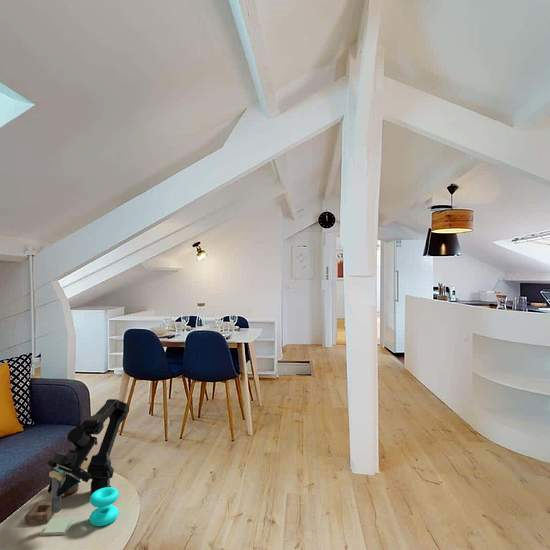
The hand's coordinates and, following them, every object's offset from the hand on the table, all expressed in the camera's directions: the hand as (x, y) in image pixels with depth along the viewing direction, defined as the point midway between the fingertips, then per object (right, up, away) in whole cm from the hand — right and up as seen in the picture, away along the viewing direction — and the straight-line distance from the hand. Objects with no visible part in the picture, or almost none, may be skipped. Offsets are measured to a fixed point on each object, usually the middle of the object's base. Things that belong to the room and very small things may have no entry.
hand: (52, 494), depth 139 cm
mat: (+1, -13, +1) cm, 13 cm away
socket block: (-8, -12, +7) cm, 17 cm away
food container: (-6, -13, +23) cm, 27 cm away
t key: (+1, -7, +1) cm, 7 cm away
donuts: (+16, -13, +6) cm, 22 cm away
